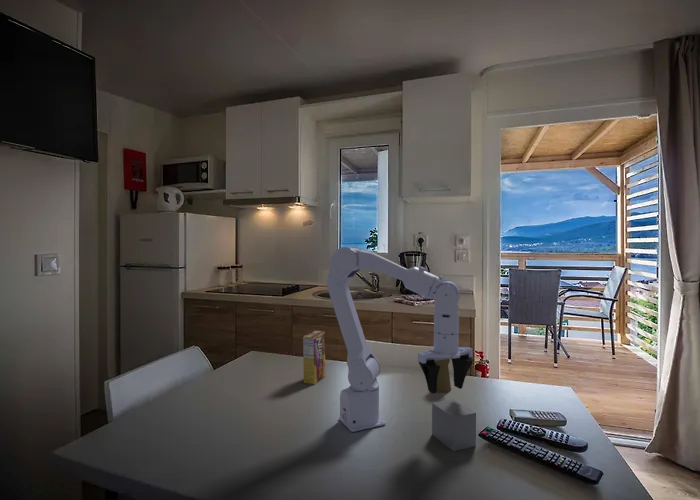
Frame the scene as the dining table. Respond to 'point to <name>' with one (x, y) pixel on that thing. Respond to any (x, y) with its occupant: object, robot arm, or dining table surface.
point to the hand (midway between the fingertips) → (445, 389)
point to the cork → (443, 376)
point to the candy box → (314, 357)
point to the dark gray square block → (454, 424)
